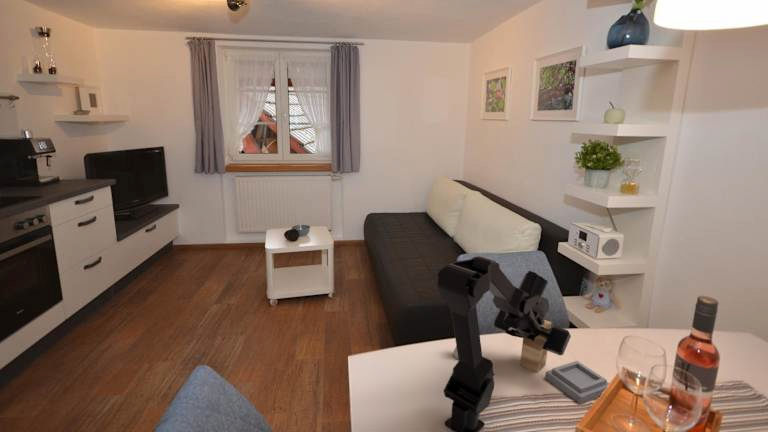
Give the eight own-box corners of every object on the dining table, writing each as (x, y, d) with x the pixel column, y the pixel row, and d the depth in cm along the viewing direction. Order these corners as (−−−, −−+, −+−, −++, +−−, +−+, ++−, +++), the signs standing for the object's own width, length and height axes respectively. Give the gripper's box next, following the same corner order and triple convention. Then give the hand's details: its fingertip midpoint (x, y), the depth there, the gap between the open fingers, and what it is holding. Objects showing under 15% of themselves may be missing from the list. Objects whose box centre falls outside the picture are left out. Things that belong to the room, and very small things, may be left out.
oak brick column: (537, 372, 113) (543, 324, 109) (520, 364, 116) (525, 317, 112) (545, 365, 116) (552, 318, 113) (528, 357, 119) (534, 311, 116)
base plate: (580, 404, 101) (582, 392, 100) (545, 378, 110) (546, 367, 110) (611, 392, 105) (613, 381, 105) (574, 368, 115) (576, 357, 114)
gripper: (573, 302, 101) (583, 328, 112) (503, 279, 114) (518, 304, 124) (555, 344, 98) (568, 366, 108) (484, 315, 110) (502, 338, 121)
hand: (537, 341), depth 115 cm, fingers open, 7 cm apart
